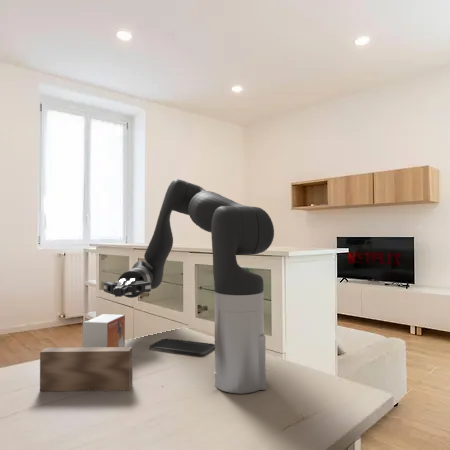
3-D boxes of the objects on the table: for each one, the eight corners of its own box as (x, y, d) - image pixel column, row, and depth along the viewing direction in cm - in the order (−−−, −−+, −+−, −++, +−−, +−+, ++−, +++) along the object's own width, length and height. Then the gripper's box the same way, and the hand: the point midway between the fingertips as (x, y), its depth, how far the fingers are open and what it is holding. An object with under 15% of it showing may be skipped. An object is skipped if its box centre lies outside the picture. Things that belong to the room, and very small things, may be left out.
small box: (106, 376, 73) (107, 322, 74) (81, 374, 75) (81, 321, 75) (125, 362, 81) (125, 314, 82) (102, 360, 82) (102, 313, 83)
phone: (202, 353, 85) (147, 346, 90) (202, 358, 85) (147, 350, 90) (216, 344, 92) (164, 337, 98) (216, 348, 92) (164, 342, 98)
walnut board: (132, 384, 69) (132, 347, 69) (129, 390, 67) (129, 351, 67) (46, 385, 69) (46, 347, 69) (39, 391, 66) (40, 351, 67)
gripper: (111, 268, 106) (90, 276, 88) (158, 268, 106) (145, 276, 89) (111, 295, 106) (90, 308, 88) (158, 295, 106) (145, 308, 89)
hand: (118, 292), depth 89 cm, fingers closed
